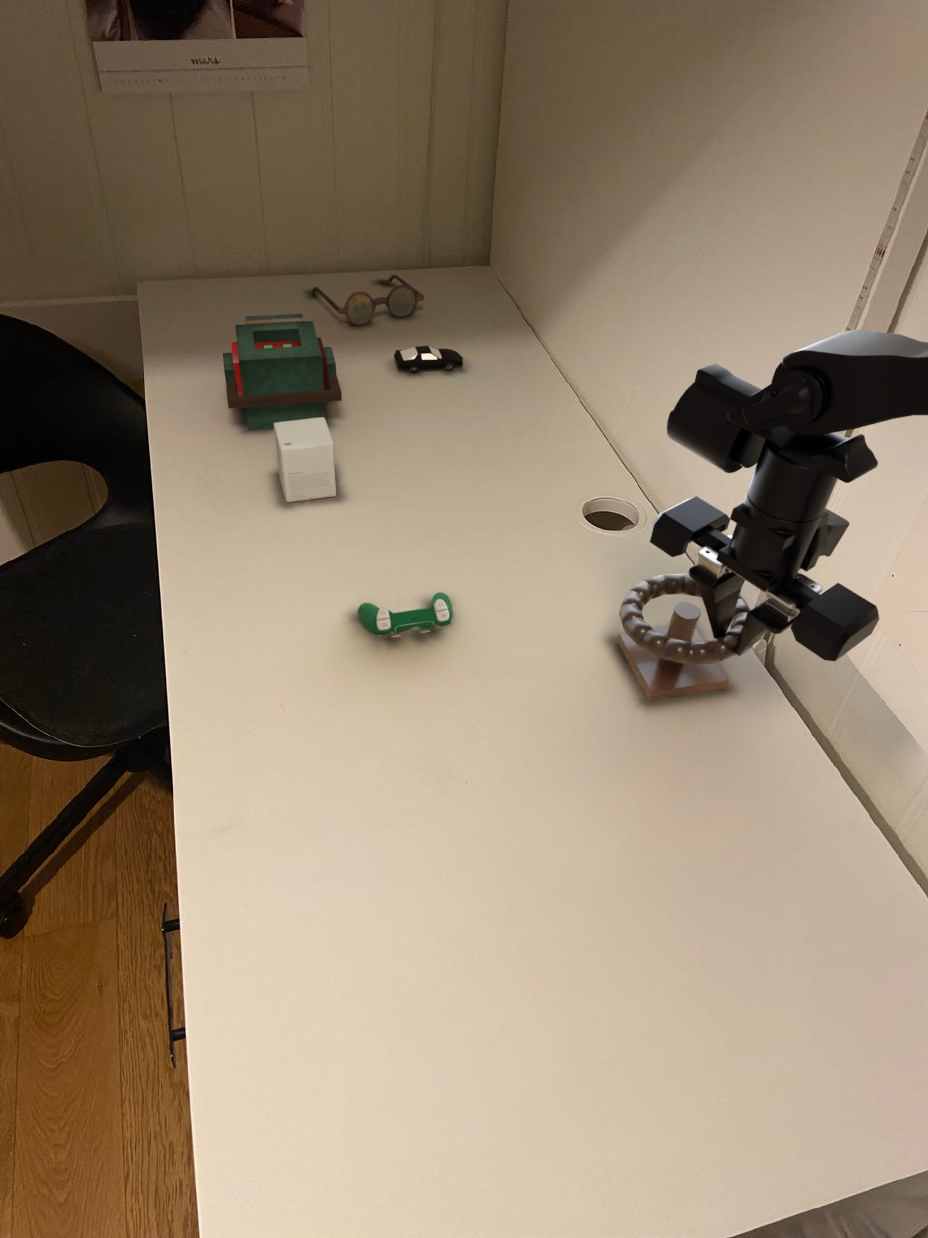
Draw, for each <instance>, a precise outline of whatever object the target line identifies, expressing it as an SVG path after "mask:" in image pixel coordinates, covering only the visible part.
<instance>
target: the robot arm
mask: <svg viewBox="0 0 928 1238" xmlns="http://www.w3.org/2000/svg"><path fill="white" fill-rule="evenodd" d="M695 373H696V374H695V378H694V382H693V383H692V384H691V385H689V386H688V387H687V389H685V390H684V391H683V393H682V395H681V396H680V397H679V399H678V400H677V403H676V404H675V406H674V408H673V409H672V410H671V411H670V412H669V414H668V417H667V422H666V435H667V437H668V439H669V440H670V441H671V442H672V443H674V444H676V445H678V446H680V447H681V448H683V449H685V450H686V451H688V452H690V453H691V454H693V455H695V456H697V457H699V458H700V459H701V460H704V461H705V462H707V463H709V464H711V465H712V466H713V467H716V468H717V469H719V470H721V471H723V472H724V473H727V474H733V473H736V472H738V471H740V470H741V469H743V468H744V469H750V468H752V467H754V466H755V468H754V471H753V475H752V477H751V480H750V483H749V486H748V489H747V492H746V495H745V497H744V500H743V502H742V503H740V504H738V505H737V506H735V507H733V508H732V510H731V514H730V516H728V514H727V513H725V512H723V511H722V510H720V509H719V508H717V507H715V506H714V505H712V504H710V503H708V502H707V501H705V500H704V499H702V498H700V497H699V496H697V495H695V496H692V497H690V498H687V499H684V501H681V502H679V503H677V504H675V505H673V506H671V507H669V508H668V509H666V510H664V511H662V512H660V513H659V514H657V516H656V517H655V518H654V519H653V521H652V523H651V528H650V532H649V535H648V538H649V539H648V540H649V543H650V544H652V545H654V547H656V548H658V549H659V550H660V551H662V552H663V553H665V554H666V555H668V556H670V557H671V558H674V557H678V556H682V555H684V554H685V553H687V549H688V546H689V544H690V543H694V544H695V545H697V546H699V547H700V548H699V549H697V551H696V555H697V559H696V563H695V564H694V565H692V566H691V567H689V569H688V574H689V576H690V577H691V578H692V579H694V581H695V582H696V585H697V587H698V590H699V592H700V595H701V597H702V598H701V599H702V603H703V604H704V608H705V611H706V615H707V618H708V622H709V625H710V629H711V632H712V633H711V634H712V636H713V638H714V639H716V638H719V637H722V636H724V635H725V634H726V633H727V632H728V631H729V627H731V621H732V617H733V614H734V611H735V608H736V605H737V602H738V598H739V596H741V592H742V589H743V587H744V583H745V582H748V583H749V584H751V585H752V586H753V587H755V588H757V589H758V590H760V591H761V592H763V593H764V594H765V595H766V600H764V601H763V602H761V603H759V604H758V605H756V606H755V607H754V608H752V609H750V611H749V612H748V613H747V616H746V619H745V622H744V625H743V628H742V631H741V634H740V637H739V640H738V643H737V649H736V654H737V655H736V656H738V657H741V656H742V655H745V653H747V652H748V651H749V650H750V649H751V648H752V647H753V646H754V645H755V644H756V643H757V642H759V641H760V640H761V639H762V638H763V637H764V635H766V634H767V633H768V632H770V633H772V634H774V635H781V634H782V633H783V632H785V631H786V630H788V629H789V628H790V630H791V632H792V635H793V637H794V639H795V642H797V643H798V644H799V645H801V646H803V647H804V648H806V650H809V651H810V652H812V653H813V654H814V655H816V656H817V657H819V658H820V659H822V660H823V661H826V662H828V661H829V662H836V661H838V660H839V659H840V658H842V657H843V656H844V655H846V654H847V653H849V652H850V651H851V650H853V649H854V648H855V647H857V646H858V645H859V644H861V642H863V641H864V640H866V639H867V638H868V637H869V636H871V635H872V634H873V632H874V630H875V628H876V626H877V625H878V623H879V621H880V614H879V609H878V607H877V605H875V604H874V603H873V602H870V601H869V600H868V599H866V598H864V597H863V596H861V595H859V594H857V593H856V592H854V591H853V590H851V589H850V588H848V587H847V586H845V585H843V584H841V583H840V582H837V583H835V584H834V585H833V586H830V587H829V588H828V589H827V590H825V591H824V592H823V589H824V586H823V585H821V584H819V583H818V582H816V581H815V580H813V579H812V578H810V577H808V576H806V575H805V574H804V573H800V572H799V571H801V570H802V571H804V572H809V571H810V570H812V569H813V568H815V567H816V565H817V562H818V560H819V558H820V557H824V556H825V557H831V556H832V554H833V553H834V550H835V549H836V547H837V546H838V544H839V542H840V541H841V539H842V538H843V536H844V534H845V532H847V529H848V528H849V526H850V522H849V520H847V519H846V518H844V517H842V516H840V515H839V514H838V513H835V512H833V511H832V510H830V509H829V508H826V507H827V505H828V503H829V500H830V498H831V496H832V494H833V491H834V489H835V486H836V485H837V482H838V480H839V481H841V482H843V483H846V484H850V483H851V482H853V481H855V480H858V479H859V478H860V477H862V476H864V475H866V474H868V473H869V472H871V471H873V470H875V469H876V468H878V465H879V462H878V459H877V457H876V456H875V454H874V452H873V451H872V449H871V448H869V446H868V444H867V441H866V437H865V435H864V434H863V433H858V434H855V435H854V436H852V437H846V436H843V435H842V434H839V433H840V432H845V431H851V430H856V429H860V428H864V427H867V426H871V425H875V424H880V423H883V422H888V421H891V420H895V419H901V418H906V417H913V416H928V341H920V340H917V339H915V338H912V337H910V336H909V337H908V336H906V335H904V334H900V333H892V332H890V333H889V332H883V331H881V332H880V331H873V330H872V331H871V330H862V329H850V330H847V331H843V332H838V333H836V334H834V335H832V336H829V337H828V338H824V339H822V340H820V341H817V342H815V343H812V344H810V345H808V346H805V347H803V348H800V349H797V350H795V351H793V352H790V353H788V354H787V355H785V356H784V357H783V358H782V360H781V361H780V363H779V364H778V365H777V367H776V368H775V370H774V373H773V376H772V377H771V378H772V379H771V381H770V382H771V383H770V384H768V385H766V386H765V387H764V388H763V389H762V388H761V387H759V386H757V385H754V384H752V383H751V382H748V381H747V380H744V379H742V378H740V377H739V376H737V375H735V374H733V373H732V372H731V371H730V370H729V369H727V368H725V367H724V366H722V365H720V364H718V363H716V362H714V363H711V364H709V365H706V366H704V367H702V368H699V369H697V371H696V372H695ZM731 521H733V522H734V523H736V524H735V526H734V530H733V533H732V535H730V534H727V535H726V534H725V533H724V532H725V531H727V530H728V528H729V525H730V522H731Z"/></svg>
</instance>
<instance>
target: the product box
mask: <svg viewBox="0 0 928 1238" xmlns="http://www.w3.org/2000/svg"><path fill="white" fill-rule="evenodd" d="M273 430H274V439H275V448H276V455H277V465H278V474H279V480H280V485H281V490H282V491H283V496H284V499H285V502H286V503H295V502H302V501H309V500H316V499H325V498H333V497H336V496H337V485H336V484H337V483H336V471H335V470H336V469H335V452H334V451H335V450H334V440H333V438H332V435H331V431H330V428H329V426H328V423H327V419H326V420H325V418H324V417H321V418H310V419H302V420H294V421H284V422H277V423H274V429H273Z"/></svg>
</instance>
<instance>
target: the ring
mask: <svg viewBox="0 0 928 1238" xmlns="http://www.w3.org/2000/svg"><path fill="white" fill-rule="evenodd" d="M671 595H673V596H674V595H675V596H676V595H685V596H689V597H695V598H699V599H702V597H701V595H700V592H699V590H698V587H697V585H696V582H695V581H694V579H692V578H691V577H690V576H689V573H682V572H681V573H664V574H663V573H662V574H658V575H656V576H652V577H649V578H646V579H643V580H640V581H639V582H637V583H636V584H635V585H634V586H633V587H632V588H630V589H629V590H628V591H627V592H625V594H624V596H623V599H622V602H621V605H620V608H619V611H618V612H619V613H618V615H619V618H620V621H621V624H622V628H623V630H624V633H626V634H627V635H628V636H629V637H630V638H631V639H632V640H633V641H634V642H635V643H636V644H637V645H638V646H639V647H640V648H641V649H643V650H645V651H647V652H649V653H651V654H653V655H655V656H657V657H659V658H661V659H664V660H668V661H673V662H678V663H683V664H688V665H695V664H714V663H717V662H718V663H720V662H722V661H725V660H728V659H730V658H733V657H736V656H738V655H737V654H736V649H737V643H738V640H739V637H740V634H741V631H742V628H743V625H744V622H745V619H746V616H747V613H748V612H749V611H750V610H751V608H750V606H749V604H748V602H747V600H745V598H743V597H742V596H741V595H739V598H738V602H737V605H736V608H735V611H734V614H733V617H732V621H731V624H730V626H729V627H730V629H728V630H727V632H726V634H725V635H724V636H722V637H719V638H716V639H715V638H714V639H711V640H704V641H698V642H689V641H684V640H679V639H674V638H670V637H668V636H666V635H664V634H662V633H660V632H658V631H655V630H654V629H653V626H651V625H650V624H649V623H648V622H647V621H646V620H645V618H644V615H643V609H644V607H645V606H646V605H647V604H648V603H649V602H650V601H652V600H654V599H657V598H660V597H663V596H671Z"/></svg>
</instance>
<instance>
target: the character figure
mask: <svg viewBox="0 0 928 1238" xmlns="http://www.w3.org/2000/svg"><path fill="white" fill-rule="evenodd" d="M244 320H245V323H244V324H235V325H234V326H235V336H236V341H231V342H230V344H231V345H230V346H231V352H223V353H222V361H223V371H224V378H225V379H224V380H225V388H226V401H227V407H228V409H229V410H230V409H245V414H246V415H245V416H246V421H247V427H248V428H247V429H248V431H250V432H251V431H262V430H274V423H277V422H284V421H294V420H302V419H310V418H321V417H324V418H325V420H326V421H327V415H326V403H330V402H331V403H332V402H342V401H343V399H342V398H343V397H342V390H341V386H340V382H339V379H338V375H337V363H336V359H335V356H334V351H333V349H332V346H325V347H324V344H323V340H322V337H321V336H320V337H318V335H317V333H316V327H315V325H314V321H313V320H304V317H303V313H292V314H289V313H288V314H273V315H272V314H269V315H251V316H249V315H248V316H244Z"/></svg>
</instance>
